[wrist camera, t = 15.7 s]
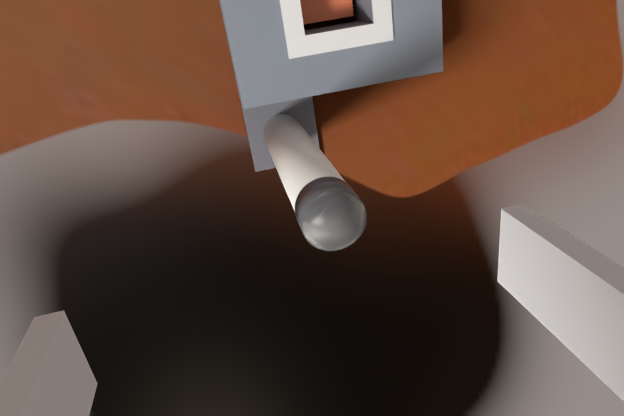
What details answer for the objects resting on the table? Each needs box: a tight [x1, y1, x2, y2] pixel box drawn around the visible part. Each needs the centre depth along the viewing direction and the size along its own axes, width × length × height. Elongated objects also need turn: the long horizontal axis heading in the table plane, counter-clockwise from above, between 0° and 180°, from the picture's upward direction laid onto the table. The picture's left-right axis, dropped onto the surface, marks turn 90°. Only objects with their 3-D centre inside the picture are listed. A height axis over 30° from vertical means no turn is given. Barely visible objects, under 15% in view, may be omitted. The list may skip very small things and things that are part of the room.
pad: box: [241, 96, 320, 172], centre depth 40 cm, size 6×6×1 cm
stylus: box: [263, 114, 367, 251], centre depth 32 cm, size 4×4×18 cm
